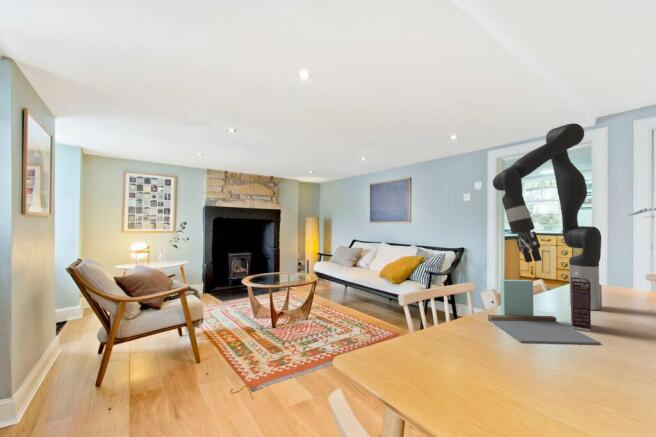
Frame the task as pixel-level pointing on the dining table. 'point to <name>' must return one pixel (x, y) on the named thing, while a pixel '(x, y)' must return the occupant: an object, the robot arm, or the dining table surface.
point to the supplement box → (581, 304)
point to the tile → (517, 297)
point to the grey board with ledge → (539, 330)
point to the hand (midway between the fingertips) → (533, 261)
